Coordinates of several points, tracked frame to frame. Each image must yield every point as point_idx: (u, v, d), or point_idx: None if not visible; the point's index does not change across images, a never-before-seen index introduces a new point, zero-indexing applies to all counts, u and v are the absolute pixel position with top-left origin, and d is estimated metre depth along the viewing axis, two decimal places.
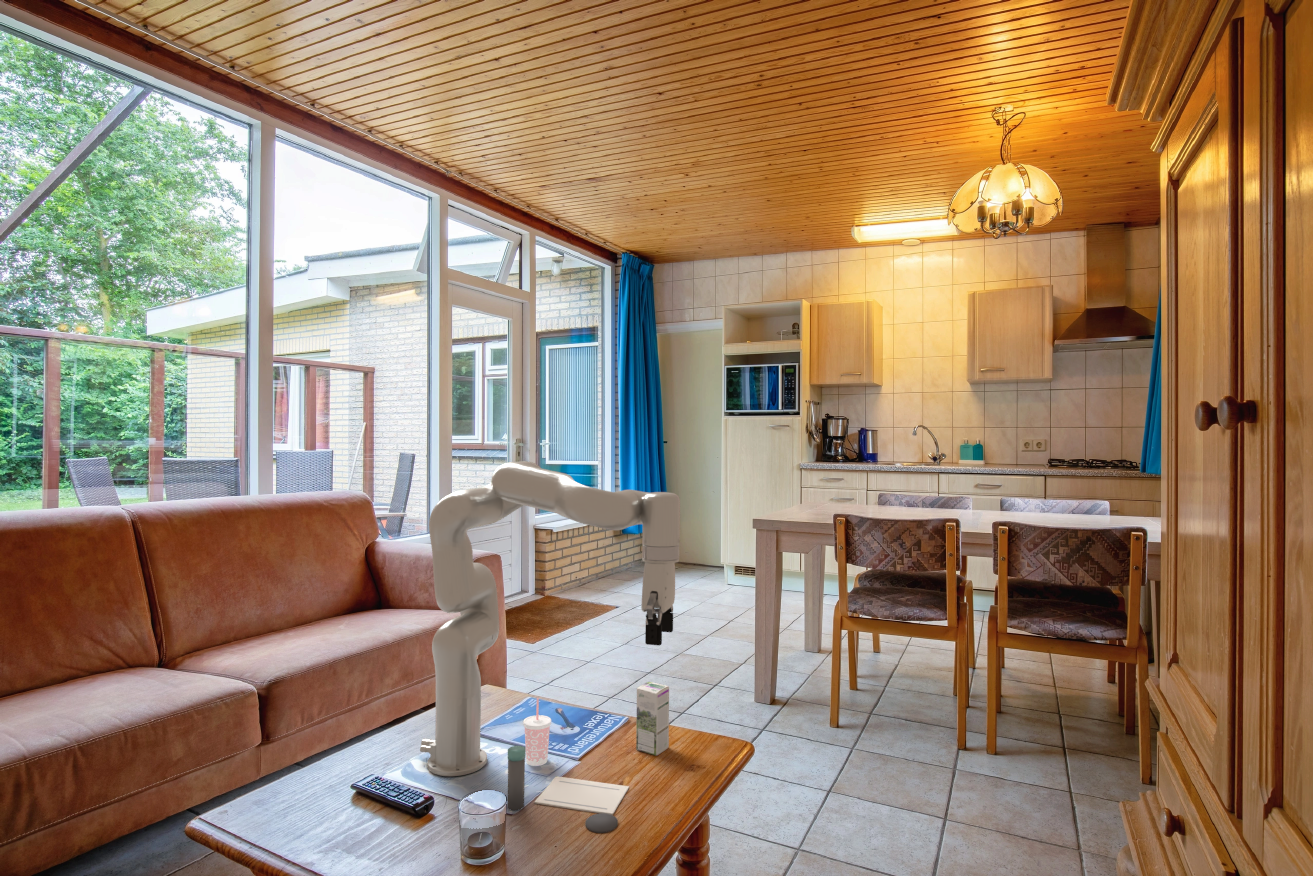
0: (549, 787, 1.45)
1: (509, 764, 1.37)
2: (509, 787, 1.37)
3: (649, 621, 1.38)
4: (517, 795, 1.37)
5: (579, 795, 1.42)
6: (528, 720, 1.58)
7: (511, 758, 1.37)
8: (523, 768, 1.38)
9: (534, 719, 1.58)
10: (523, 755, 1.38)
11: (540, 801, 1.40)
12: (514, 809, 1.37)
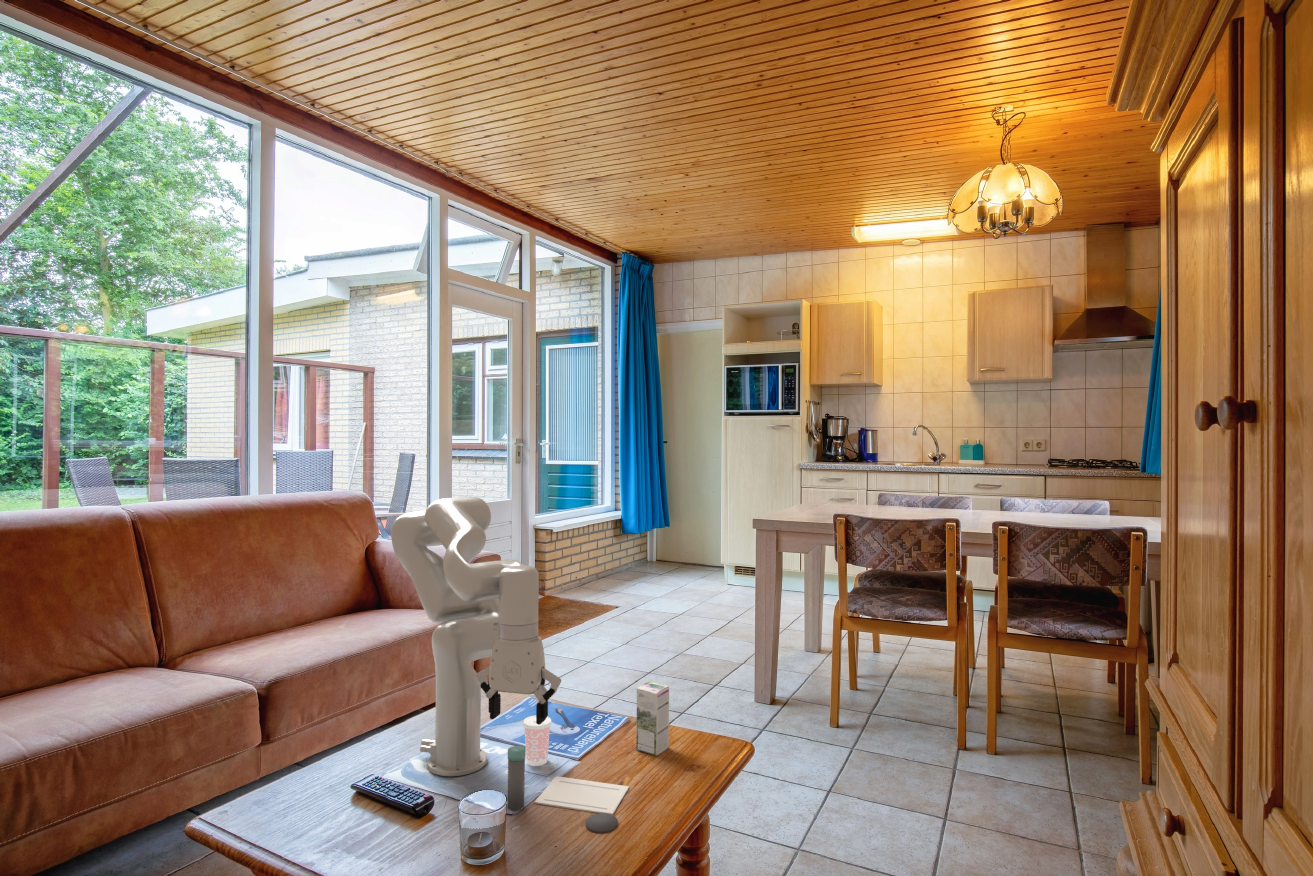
0: (549, 787, 1.45)
1: (509, 764, 1.37)
2: (509, 787, 1.37)
3: (549, 697, 1.36)
4: (517, 795, 1.37)
5: (579, 795, 1.42)
6: (528, 720, 1.58)
7: (511, 758, 1.37)
8: (523, 768, 1.38)
9: (534, 719, 1.58)
10: (523, 755, 1.38)
11: (540, 801, 1.40)
12: (514, 809, 1.37)
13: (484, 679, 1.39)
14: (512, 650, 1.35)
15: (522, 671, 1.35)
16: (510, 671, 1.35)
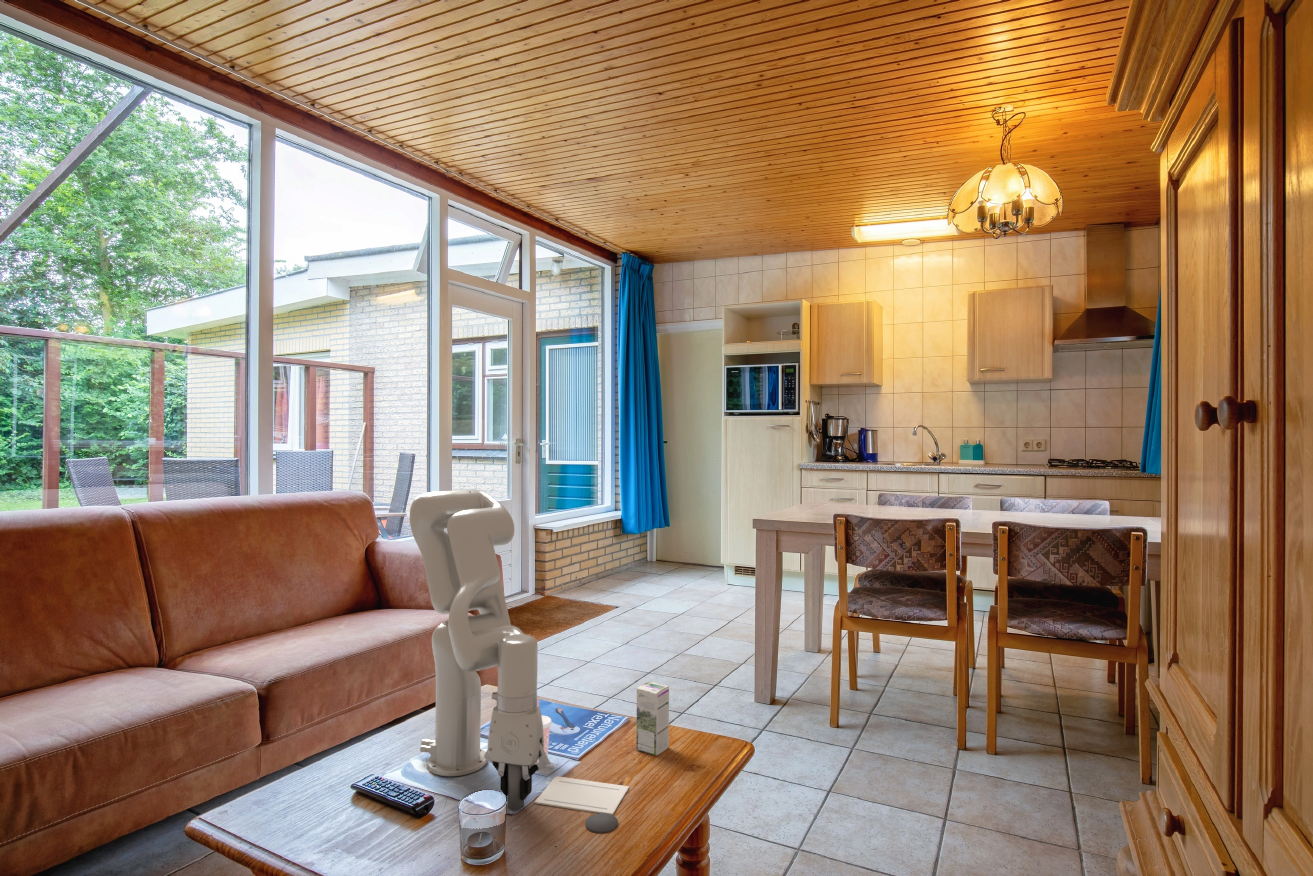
0: (549, 787, 1.45)
1: (509, 764, 1.37)
2: (509, 787, 1.37)
3: (533, 773, 1.37)
4: (517, 795, 1.37)
5: (579, 795, 1.42)
6: None
7: None
8: None
9: None
10: None
11: (540, 801, 1.40)
12: (514, 809, 1.37)
13: None
14: (510, 722, 1.36)
15: (520, 743, 1.35)
16: (509, 743, 1.36)
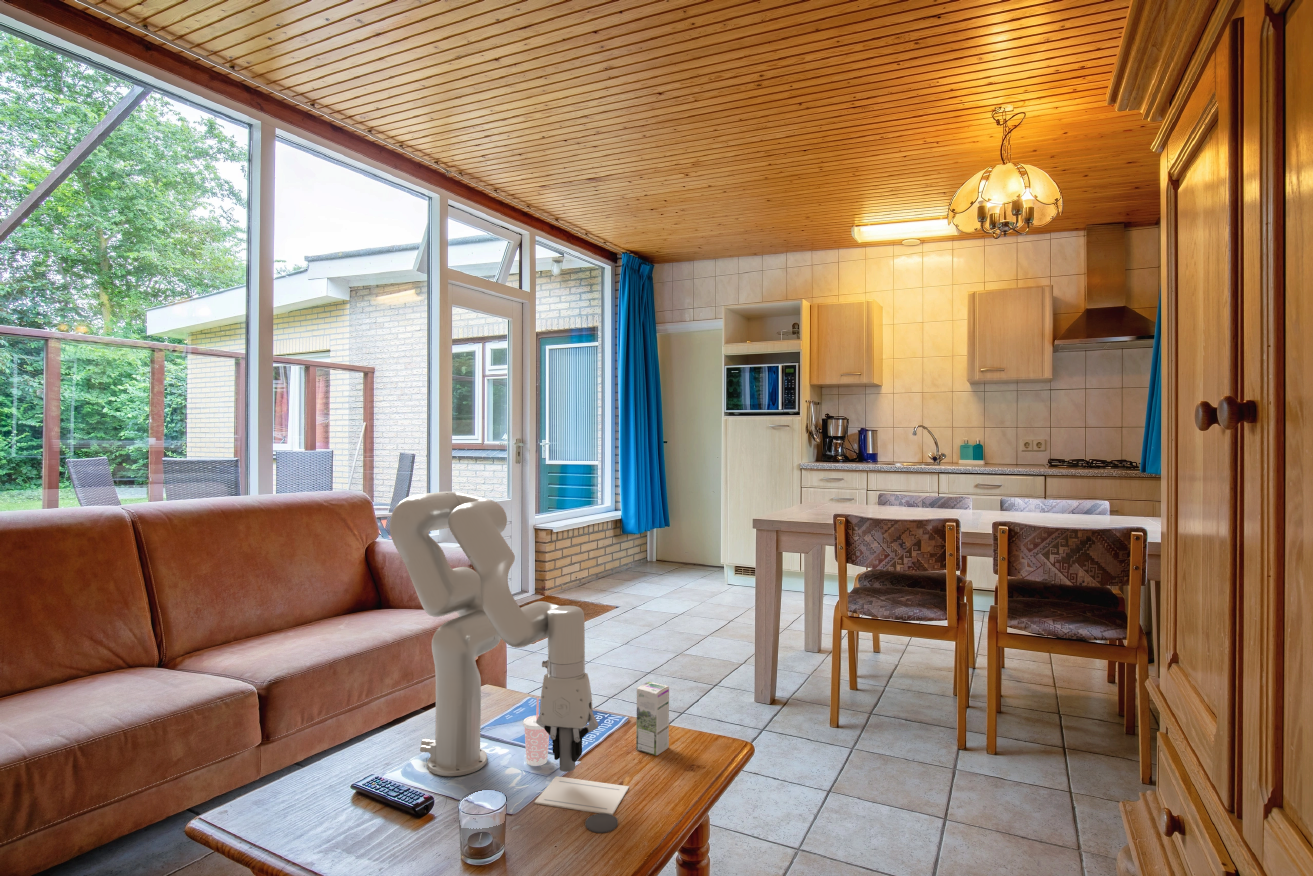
0: (549, 787, 1.45)
1: (560, 728, 1.45)
2: (561, 750, 1.45)
3: None
4: (568, 757, 1.45)
5: (579, 795, 1.42)
6: (528, 720, 1.58)
7: None
8: None
9: (534, 719, 1.58)
10: None
11: (540, 801, 1.40)
12: (566, 770, 1.45)
13: None
14: (561, 687, 1.44)
15: (571, 707, 1.43)
16: (560, 707, 1.44)
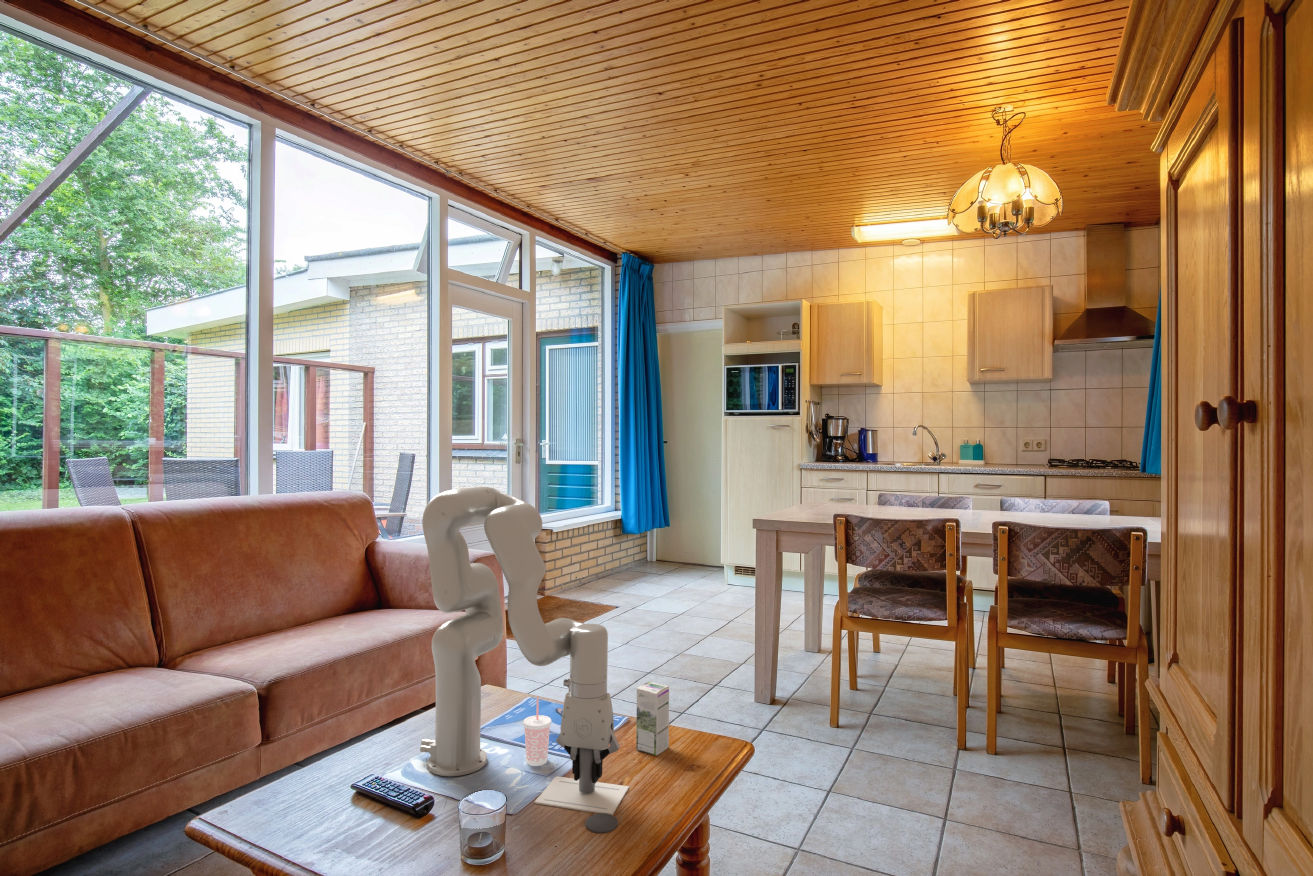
0: (549, 787, 1.45)
1: (581, 748, 1.43)
2: (581, 771, 1.43)
3: (604, 757, 1.42)
4: (588, 778, 1.42)
5: (579, 795, 1.42)
6: (528, 720, 1.58)
7: None
8: None
9: (534, 719, 1.58)
10: None
11: (540, 801, 1.40)
12: (586, 792, 1.42)
13: None
14: (583, 708, 1.41)
15: (593, 728, 1.41)
16: (582, 727, 1.41)
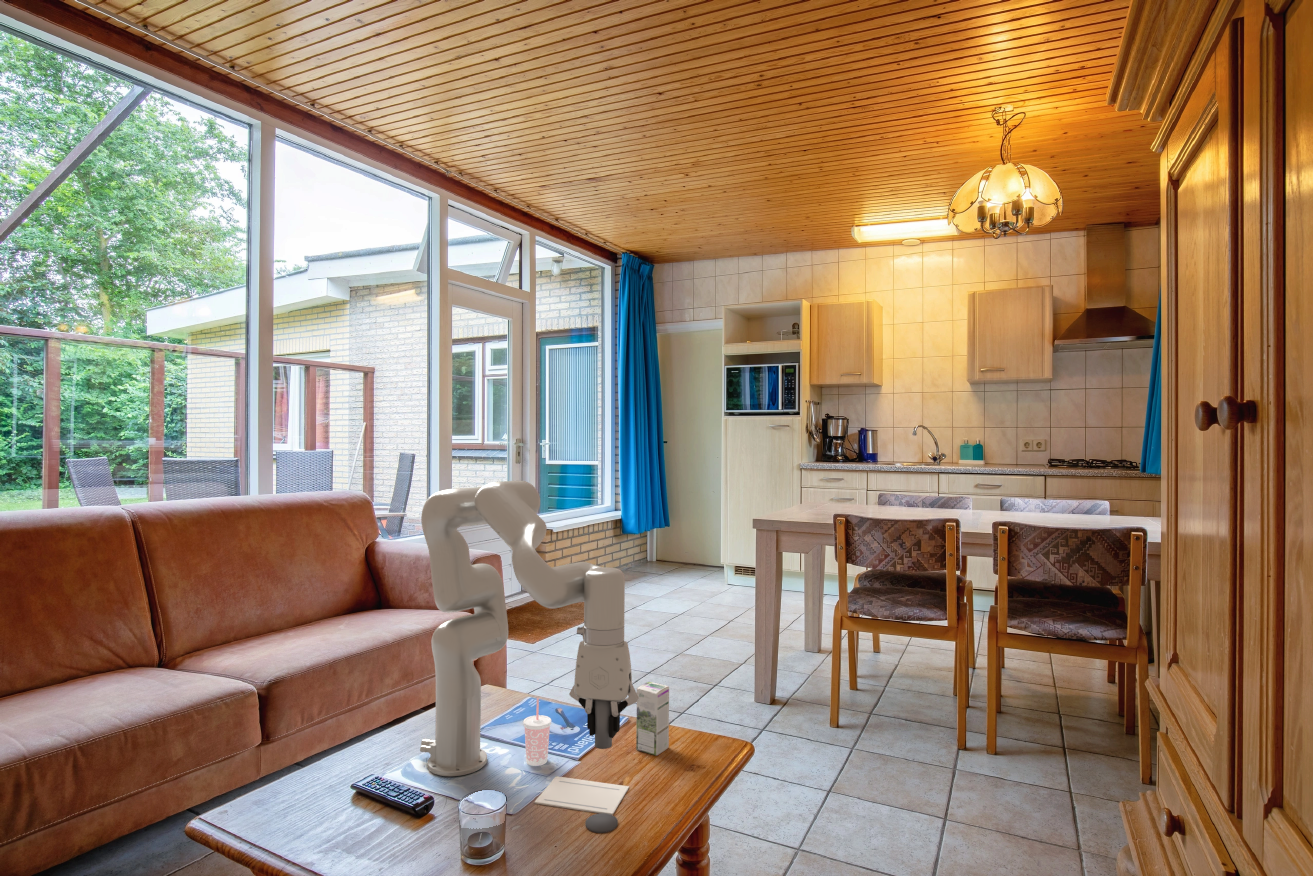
0: (549, 787, 1.45)
1: (597, 701, 1.32)
2: (597, 725, 1.32)
3: (622, 710, 1.32)
4: (605, 733, 1.31)
5: (579, 795, 1.42)
6: (528, 720, 1.58)
7: None
8: None
9: (534, 719, 1.58)
10: None
11: (540, 801, 1.40)
12: (603, 747, 1.31)
13: None
14: (599, 656, 1.30)
15: (610, 677, 1.30)
16: (598, 677, 1.30)
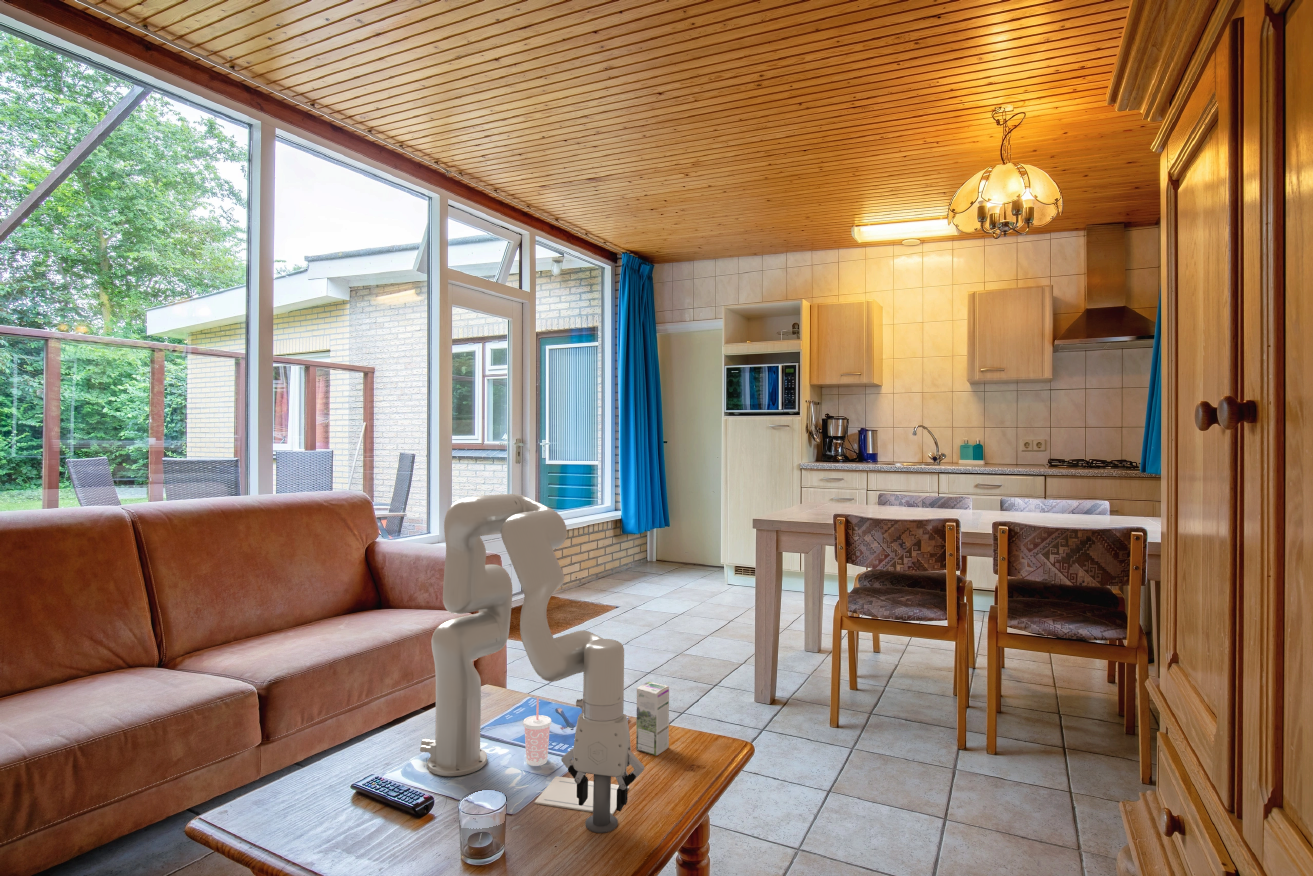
0: (549, 787, 1.45)
1: (595, 778, 1.31)
2: (595, 802, 1.31)
3: (630, 783, 1.31)
4: (603, 810, 1.31)
5: None
6: (528, 720, 1.58)
7: None
8: (610, 782, 1.32)
9: (534, 719, 1.58)
10: None
11: (540, 801, 1.40)
12: (601, 825, 1.31)
13: (570, 762, 1.34)
14: (598, 731, 1.30)
15: (609, 753, 1.29)
16: (596, 752, 1.30)
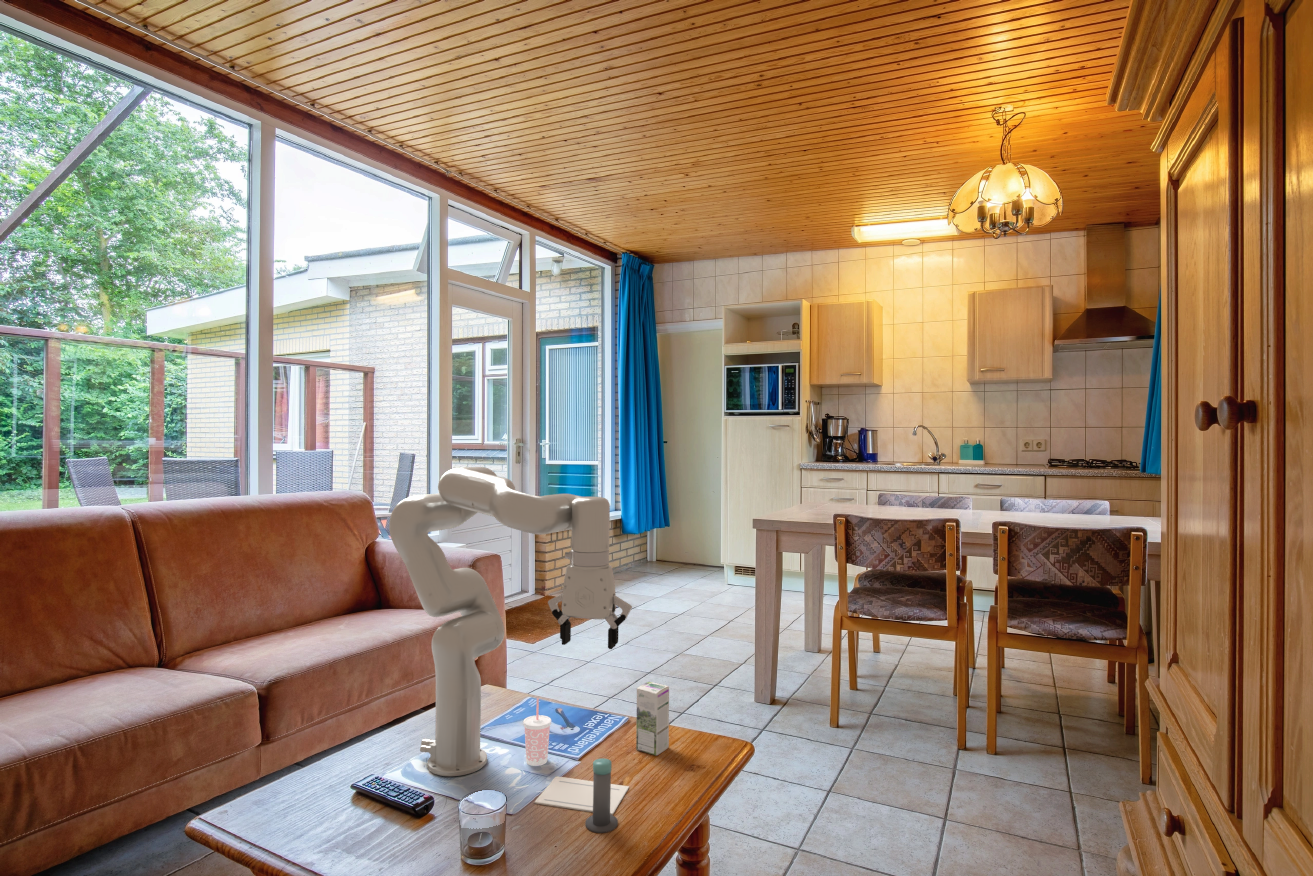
0: (549, 787, 1.45)
1: (595, 778, 1.31)
2: (595, 802, 1.31)
3: None
4: (603, 810, 1.31)
5: (579, 795, 1.42)
6: (528, 720, 1.58)
7: (598, 772, 1.31)
8: (609, 782, 1.32)
9: (534, 719, 1.58)
10: (610, 768, 1.32)
11: (540, 801, 1.40)
12: (601, 825, 1.31)
13: (555, 606, 1.43)
14: (585, 577, 1.39)
15: (595, 597, 1.39)
16: (583, 597, 1.39)
